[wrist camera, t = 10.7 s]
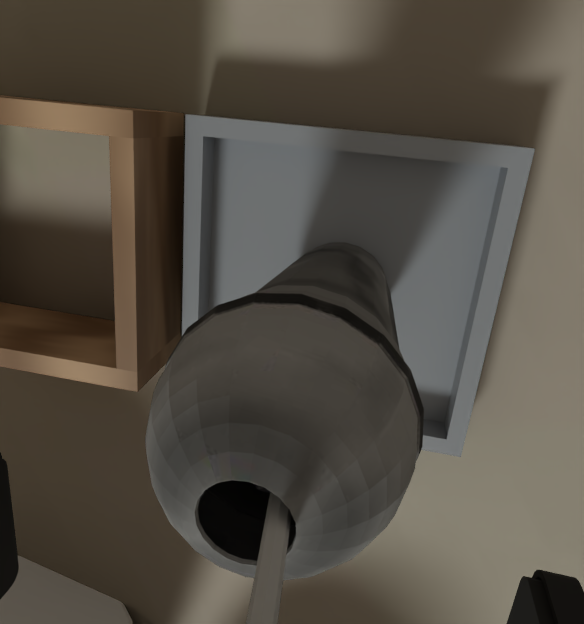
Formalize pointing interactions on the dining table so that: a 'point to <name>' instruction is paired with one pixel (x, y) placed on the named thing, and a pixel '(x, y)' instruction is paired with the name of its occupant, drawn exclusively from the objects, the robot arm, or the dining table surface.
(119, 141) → the holder
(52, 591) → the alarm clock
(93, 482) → the dining table surface
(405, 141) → the tray
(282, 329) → the beverage cup
